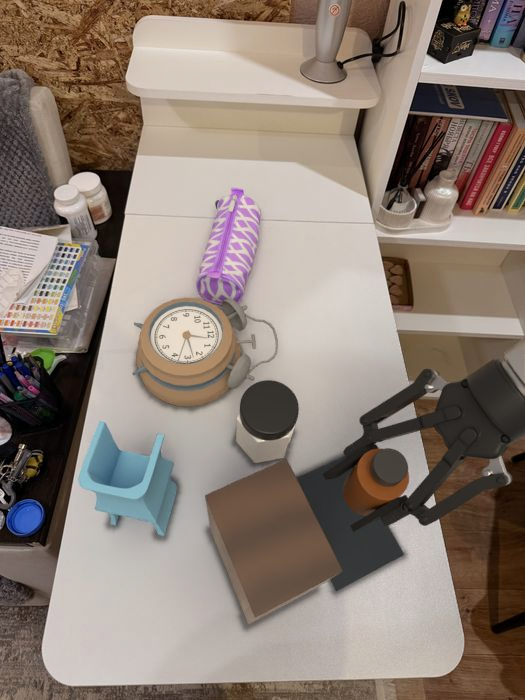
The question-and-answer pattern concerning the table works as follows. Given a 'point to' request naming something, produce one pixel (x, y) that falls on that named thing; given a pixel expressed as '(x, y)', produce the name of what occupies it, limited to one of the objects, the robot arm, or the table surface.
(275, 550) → the block
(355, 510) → the spice bottle
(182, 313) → the alarm clock
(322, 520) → the mat
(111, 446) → the blue doll chair
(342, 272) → the table surface
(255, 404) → the jar
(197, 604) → the table surface
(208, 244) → the pencil case
